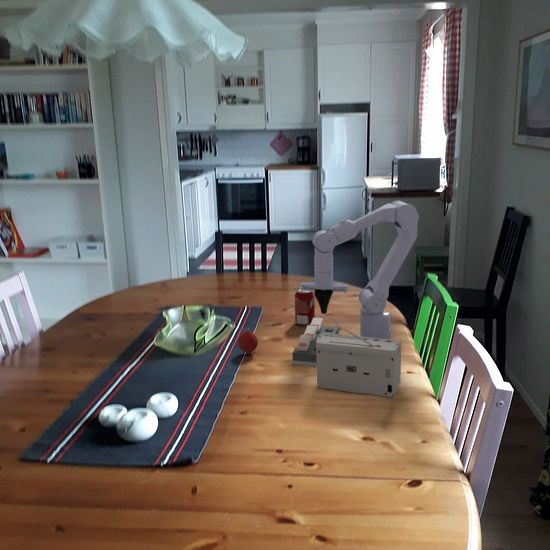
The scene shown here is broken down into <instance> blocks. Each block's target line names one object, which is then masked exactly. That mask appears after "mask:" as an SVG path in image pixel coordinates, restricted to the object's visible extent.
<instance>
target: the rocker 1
mask: <svg viewBox="0 0 550 550" xmlns="http://www.w3.org/2000/svg"><path fill="white" fill-rule="evenodd" d="M311 340H312V336H309V335H304V334H301V335H300V336H299V339H298V342H297V344H296V346H295V348H296V350H298V351H308V348H309V345H310V343H311Z"/></svg>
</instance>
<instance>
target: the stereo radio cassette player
mask: <svg viewBox="0 0 550 550" xmlns="http://www.w3.org/2000/svg"><path fill="white" fill-rule="evenodd" d="M320 318H323V319H326V320H327V321H328V322H330V323H332V324H334V325H335V326H336V327H339V329H342V330H344V331H345V332H347V333H348V334H350V335H348V334H341V333H340V334H330V333H322V334H321V335H320V336H319V337H318V339H317V341H316V357H317V367H316V384H317V385H318V386H319V387H318V388H320V389H329V390H336V391H341V392H342V391H344V392H348V393H349V392H352V393H358V394H366V395H372V396H373V395H374V396H381V397H387V398H392V397H393V396H394V395H395V394H396V393H397V391H398V389H399V387H400V384H401V372H402V371H401V370H402V341H401V340H399V339H390V338H389V339H381V338H371V337H361V336H359V335H358V334H355V333H353V332H352V331H350V330H348V329H347V328H345V327H343V326H342V325H340V324H338V323H336V322H334V321H332V320H330V319H329V318H326V317H325V316H324V315H323V314H321V315H320Z"/></svg>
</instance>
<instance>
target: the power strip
mask: <svg viewBox="0 0 550 550" xmlns="http://www.w3.org/2000/svg"><path fill="white" fill-rule="evenodd" d="M322 333H330V334H340V335H341V332H340V327H338V326H336V325H335V326H334V325H323V324H322V326H321V329H320V332H317V333H316V336H315V339H314V342H312V341H311V343H310V345H309V348H308V351H298V350H296V347H295V348H294V349H293V351H292V354H291V355H292V356H291V357H292V360H291V362H290V364H291V365H293V366H303V367H314V368H317V357H316V341H317V339H318V337H319V336H320V335H321V334H322Z"/></svg>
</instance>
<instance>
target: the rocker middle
mask: <svg viewBox="0 0 550 550" xmlns="http://www.w3.org/2000/svg"><path fill="white" fill-rule="evenodd" d="M317 330H318V326H310V325H307V326H306V328H305V331H304V332H303V333H304V334H303V335H309V336H312V340H311V341H312V342H314V339H315V336H316V333H317Z"/></svg>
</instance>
